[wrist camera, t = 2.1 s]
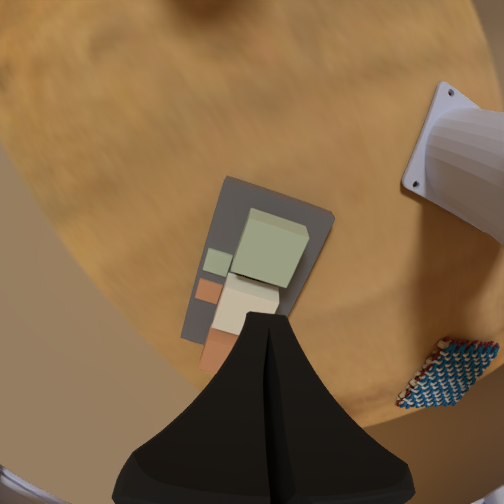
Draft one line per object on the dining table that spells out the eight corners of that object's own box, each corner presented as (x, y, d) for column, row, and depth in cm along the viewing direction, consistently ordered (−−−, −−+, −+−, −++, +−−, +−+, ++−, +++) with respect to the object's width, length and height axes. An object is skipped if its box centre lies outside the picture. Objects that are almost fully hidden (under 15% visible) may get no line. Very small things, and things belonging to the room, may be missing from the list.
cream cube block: (278, 276, 20) (279, 303, 17) (261, 313, 21) (260, 341, 18) (230, 262, 19) (225, 287, 17) (217, 300, 21) (211, 327, 18)
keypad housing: (331, 211, 19) (335, 219, 18) (264, 350, 25) (263, 362, 23) (226, 175, 18) (223, 181, 17) (183, 327, 24) (179, 339, 23)
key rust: (256, 324, 22) (255, 352, 19) (243, 352, 23) (240, 380, 20) (214, 311, 21) (207, 339, 19) (204, 341, 23) (197, 368, 20)
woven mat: (389, 399, 29) (393, 412, 27) (439, 331, 24) (447, 345, 22) (450, 397, 29) (455, 408, 27) (497, 337, 24) (505, 348, 23)
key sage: (303, 218, 18) (309, 238, 15) (284, 262, 19) (286, 288, 17) (252, 200, 17) (249, 217, 15) (235, 247, 19) (230, 271, 16)
